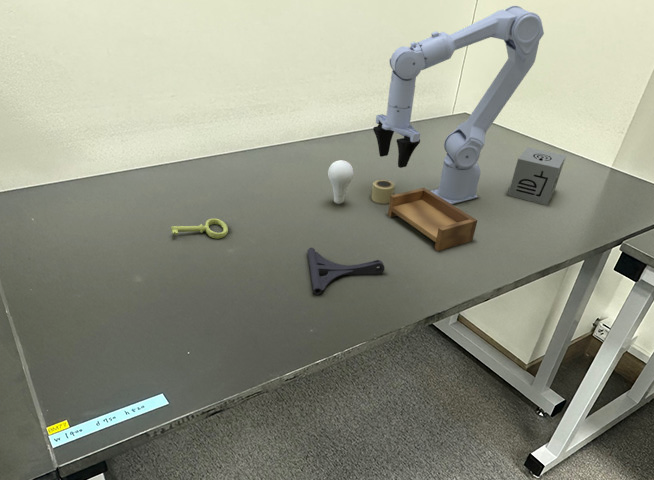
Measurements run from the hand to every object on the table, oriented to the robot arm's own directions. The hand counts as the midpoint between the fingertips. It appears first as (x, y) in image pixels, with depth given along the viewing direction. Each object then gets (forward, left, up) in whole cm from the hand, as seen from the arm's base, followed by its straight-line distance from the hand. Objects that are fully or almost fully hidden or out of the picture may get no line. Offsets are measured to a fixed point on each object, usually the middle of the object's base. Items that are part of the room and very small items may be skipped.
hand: (392, 161), depth 131 cm
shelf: (+2, +18, -9) cm, 20 cm away
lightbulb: (+14, -2, -10) cm, 17 cm away
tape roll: (+3, +1, -9) cm, 10 cm away
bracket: (+29, +25, -10) cm, 40 cm away
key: (+49, -3, -10) cm, 50 cm away
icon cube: (-36, +15, -10) cm, 40 cm away
